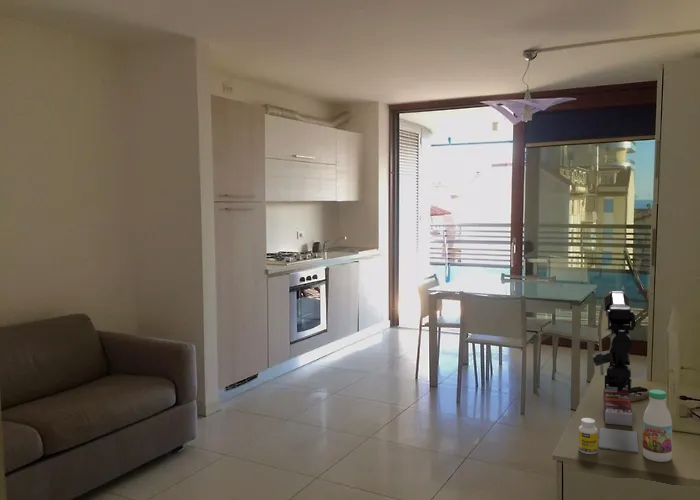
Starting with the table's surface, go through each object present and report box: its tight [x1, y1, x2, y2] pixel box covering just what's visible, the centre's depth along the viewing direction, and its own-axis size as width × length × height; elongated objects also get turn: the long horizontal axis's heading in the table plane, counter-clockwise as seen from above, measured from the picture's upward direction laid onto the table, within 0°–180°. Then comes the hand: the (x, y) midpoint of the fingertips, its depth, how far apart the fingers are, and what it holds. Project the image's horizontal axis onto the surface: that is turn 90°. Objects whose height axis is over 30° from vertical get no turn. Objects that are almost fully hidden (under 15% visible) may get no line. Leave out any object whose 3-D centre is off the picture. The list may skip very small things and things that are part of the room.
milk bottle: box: [642, 389, 673, 463], centre depth 177 cm, size 8×8×20 cm
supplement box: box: [602, 388, 634, 427], centre depth 209 cm, size 9×5×16 cm
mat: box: [598, 427, 639, 454], centre depth 190 cm, size 16×11×1 cm
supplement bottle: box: [578, 417, 599, 455], centre depth 183 cm, size 5×5×10 cm
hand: (619, 390), depth 200 cm, fingers closed
